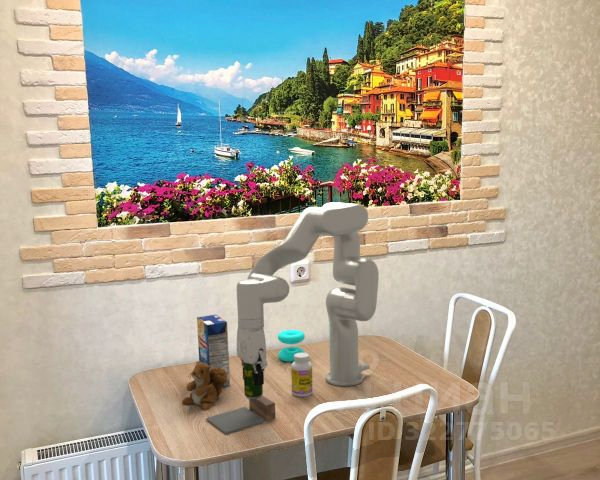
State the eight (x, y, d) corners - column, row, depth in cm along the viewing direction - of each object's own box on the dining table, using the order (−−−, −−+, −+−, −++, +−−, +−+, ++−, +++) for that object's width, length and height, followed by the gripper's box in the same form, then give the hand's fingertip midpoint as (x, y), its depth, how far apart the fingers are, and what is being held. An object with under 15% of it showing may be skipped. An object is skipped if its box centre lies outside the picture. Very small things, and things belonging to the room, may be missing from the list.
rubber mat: (245, 408, 194) (244, 406, 194) (265, 422, 185) (265, 420, 185) (206, 419, 187) (206, 418, 187) (225, 434, 177) (225, 432, 177)
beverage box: (210, 390, 210) (207, 325, 207) (200, 379, 220) (196, 317, 216) (230, 386, 213) (227, 322, 210) (218, 375, 223) (216, 314, 219)
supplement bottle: (297, 399, 201) (296, 359, 199) (288, 392, 206) (287, 353, 204) (316, 394, 204) (315, 356, 202) (306, 388, 209) (305, 350, 207)
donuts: (302, 336, 231) (275, 336, 233) (303, 363, 233) (276, 362, 234) (306, 328, 241) (280, 328, 242) (306, 354, 243) (280, 353, 244)
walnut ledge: (258, 406, 196) (257, 392, 195) (275, 417, 188) (274, 402, 187) (249, 408, 194) (248, 394, 193) (266, 420, 186) (266, 405, 185)
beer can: (253, 391, 192) (252, 352, 190) (266, 395, 189) (265, 356, 187) (240, 396, 188) (239, 357, 186) (254, 401, 185) (252, 361, 183)
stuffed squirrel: (179, 404, 199) (177, 364, 197) (212, 390, 210) (210, 351, 208) (201, 412, 193) (199, 370, 191) (234, 397, 204) (232, 357, 202)
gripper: (225, 318, 190) (228, 376, 193) (254, 331, 176) (257, 394, 179) (247, 314, 194) (249, 371, 197) (277, 326, 180) (279, 387, 183)
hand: (253, 381), depth 188 cm, fingers closed on beer can, 5 cm apart
